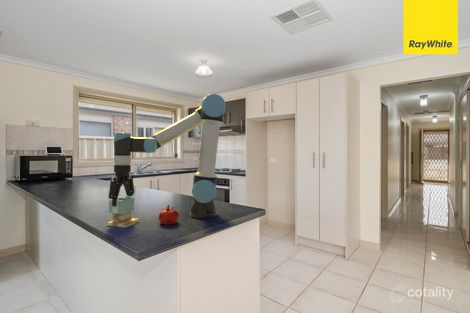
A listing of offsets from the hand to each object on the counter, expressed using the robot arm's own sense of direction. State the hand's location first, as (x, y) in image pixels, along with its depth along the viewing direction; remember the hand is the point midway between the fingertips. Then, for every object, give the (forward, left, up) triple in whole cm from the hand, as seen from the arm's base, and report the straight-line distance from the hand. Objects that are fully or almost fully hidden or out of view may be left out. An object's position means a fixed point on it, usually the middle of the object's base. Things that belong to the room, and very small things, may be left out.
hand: (122, 210), depth 120 cm
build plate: (-1, -1, -6) cm, 7 cm away
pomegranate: (-21, -8, -7) cm, 23 cm away
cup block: (0, 0, 0) cm, 1 cm away
